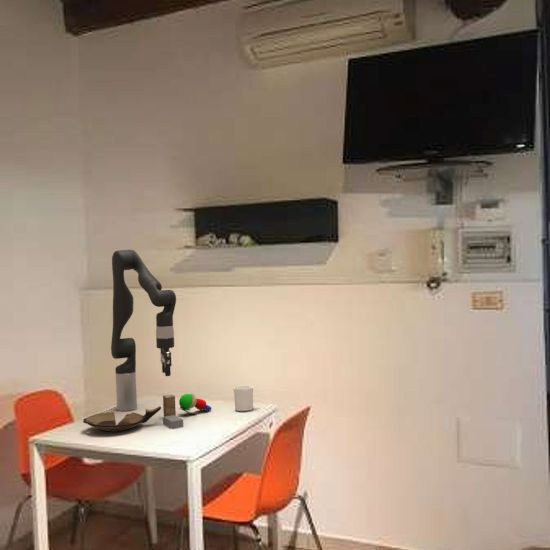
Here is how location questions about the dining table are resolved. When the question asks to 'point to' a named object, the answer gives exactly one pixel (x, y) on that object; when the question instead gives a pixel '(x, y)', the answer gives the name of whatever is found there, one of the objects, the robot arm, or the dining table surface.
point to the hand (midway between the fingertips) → (166, 374)
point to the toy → (192, 403)
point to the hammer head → (173, 421)
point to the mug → (243, 398)
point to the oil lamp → (130, 420)
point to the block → (169, 405)
